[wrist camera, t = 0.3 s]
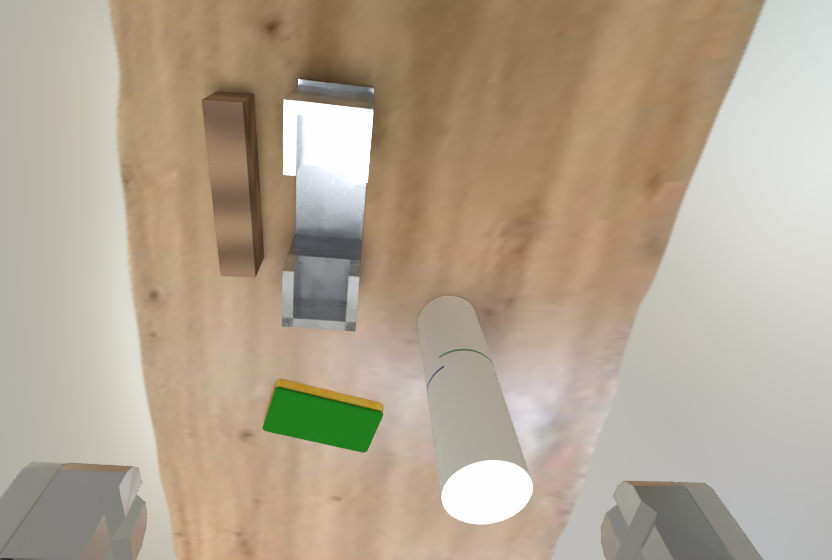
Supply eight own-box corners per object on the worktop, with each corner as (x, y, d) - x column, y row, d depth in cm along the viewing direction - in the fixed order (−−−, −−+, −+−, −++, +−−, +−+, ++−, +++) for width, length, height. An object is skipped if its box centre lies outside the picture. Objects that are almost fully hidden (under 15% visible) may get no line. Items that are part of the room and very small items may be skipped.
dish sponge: (278, 375, 65) (275, 388, 63) (383, 401, 68) (383, 414, 66) (265, 417, 68) (261, 430, 66) (366, 440, 71) (366, 453, 69)
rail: (217, 91, 49) (201, 99, 45) (254, 94, 49) (242, 102, 45) (232, 255, 57) (220, 276, 52) (264, 256, 57) (255, 277, 53)
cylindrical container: (405, 325, 62) (422, 499, 40) (446, 284, 60) (488, 445, 38) (448, 355, 65) (486, 536, 43) (489, 318, 63) (551, 487, 40)
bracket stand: (299, 78, 49) (283, 92, 40) (374, 87, 49) (373, 103, 41) (295, 284, 59) (282, 330, 50) (357, 289, 59) (354, 335, 51)
